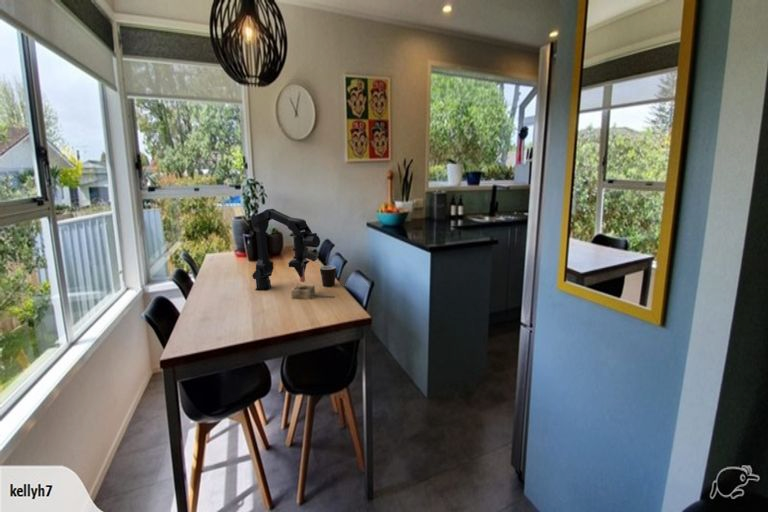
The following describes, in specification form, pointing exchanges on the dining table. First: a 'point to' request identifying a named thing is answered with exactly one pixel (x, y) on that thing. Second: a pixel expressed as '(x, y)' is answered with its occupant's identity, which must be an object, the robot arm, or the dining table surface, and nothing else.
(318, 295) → the blue gray square bar
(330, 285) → the coffee mug
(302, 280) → the reddish pink rod
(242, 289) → the dining table surface
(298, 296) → the brown square holed block
